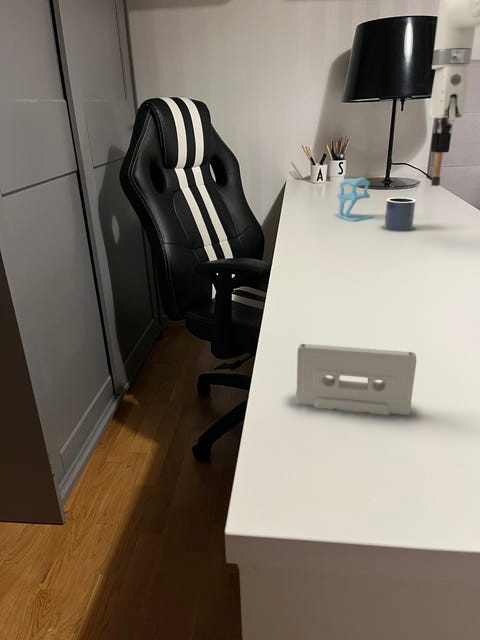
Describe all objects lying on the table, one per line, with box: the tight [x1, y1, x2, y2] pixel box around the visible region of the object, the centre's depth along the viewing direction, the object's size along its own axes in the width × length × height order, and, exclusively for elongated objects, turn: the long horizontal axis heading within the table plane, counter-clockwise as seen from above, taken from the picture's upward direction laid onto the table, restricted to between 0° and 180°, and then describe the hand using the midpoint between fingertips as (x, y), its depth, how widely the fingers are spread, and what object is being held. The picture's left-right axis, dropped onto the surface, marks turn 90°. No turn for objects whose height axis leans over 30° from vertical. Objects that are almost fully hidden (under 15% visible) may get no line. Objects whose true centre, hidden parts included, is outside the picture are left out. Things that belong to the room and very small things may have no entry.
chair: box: [337, 177, 372, 222], centre depth 144 cm, size 8×8×12 cm
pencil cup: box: [383, 197, 416, 232], centre depth 130 cm, size 7×7×8 cm
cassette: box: [295, 343, 417, 416], centre depth 53 cm, size 12×2×8 cm, turn 77°
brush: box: [430, 152, 444, 187], centre depth 113 cm, size 2×2×13 cm
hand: (439, 151), depth 113 cm, fingers closed on brush, 1 cm apart
